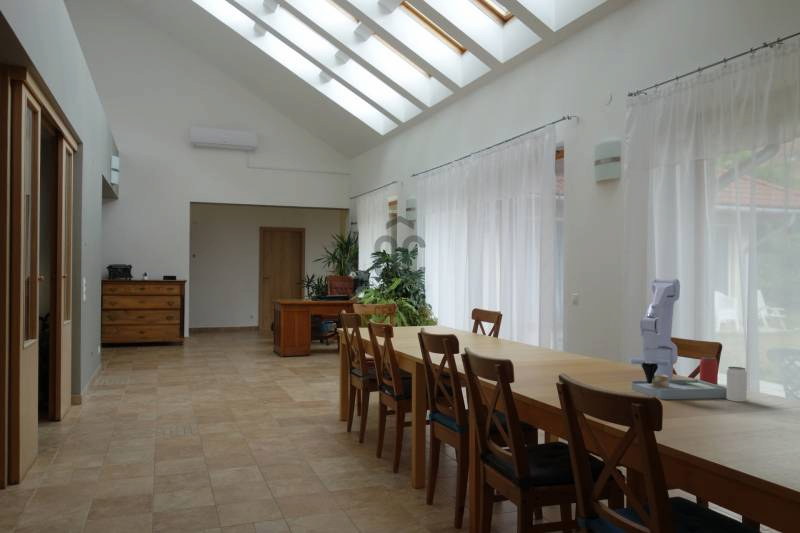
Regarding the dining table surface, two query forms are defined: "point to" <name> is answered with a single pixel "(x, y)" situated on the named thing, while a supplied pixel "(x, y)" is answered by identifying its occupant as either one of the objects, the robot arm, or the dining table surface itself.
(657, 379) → the block
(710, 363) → the beer can
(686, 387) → the trap box
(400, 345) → the dining table surface
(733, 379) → the can
